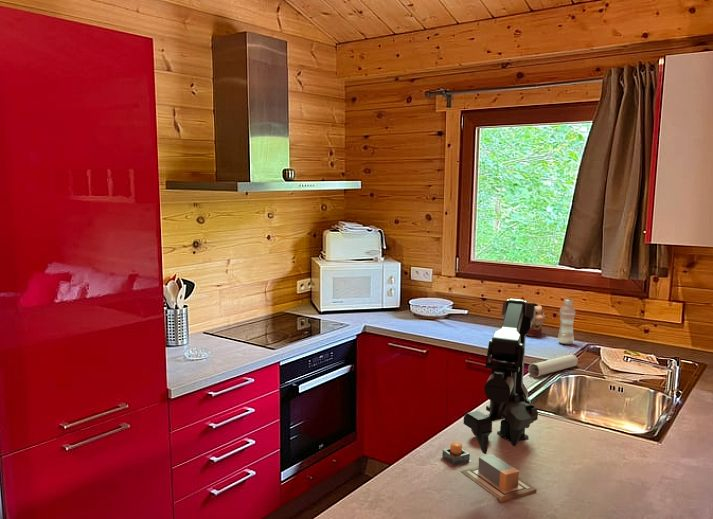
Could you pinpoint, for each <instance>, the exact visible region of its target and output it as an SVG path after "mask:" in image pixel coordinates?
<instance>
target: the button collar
mask: <svg viewBox="0 0 713 519" xmlns="http://www.w3.org/2000/svg"><path fill="white" fill-rule="evenodd" d="M441 454H442V455H439V457H440V458H441V459H443V460H444V461H445V462H447V463H448V464H450V466H452V467H456V466H460V465H464V464H469V463H472V462H473V461H472V460H471V457H470V456H471V455H470V454H471V453H470V452H468V451H467V450H465V449H463V448H462V454H461V455H457V456H454V455H452V454H451V453H450V447H448V448H443V449H442V453H441Z"/></svg>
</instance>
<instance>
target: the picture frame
mask: <svg viewBox="0 0 713 519" xmlns="http://www.w3.org/2000/svg"><path fill="white" fill-rule="evenodd" d="M478 467H479V465H478V466H475V467H471V468H467V469H462V470H460V472H461V473H462V474H463V475H465V476H466V477H468V478H469V479H471V481H473V482H474V483H475V484H477V485H478V486H479V487H480V488H482V489H484V490H486V491H487V492H488V493H489V494H491V495H492V496H494V497H495V498H496V501H498V502H499V503H502V502H506V501H510V500H513V499H517V498H519V497H523V496H526V495H529V494H533V493H536V492H537V488H535V487H534V486H532V485H530V484H529V483H528V482H526V481H524V480H523V479H521V478H520V477H519V482H518V487H517V488H514V489H510V490H507V491H504V490H503V489H501V488H500V487H499V486H497V485H496V484H495V483H493V482H492V481H490V480H489V479H487V478H486V477H485V476H483V475H482V474H480V473H479V472H478Z"/></svg>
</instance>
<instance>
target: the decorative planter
mask: <svg viewBox="0 0 713 519" xmlns="http://www.w3.org/2000/svg"><path fill="white" fill-rule="evenodd" d="M528 303H529V304H531V305H534V306H535V310H536V312H535V321H532V326H531V329H530V330H529V331H528V333H527V334H526V336H530V337H531V336H540V335H542V330H543V328H542V327H543V326H542V325H543V323H544V322H546V318H547V317H546V314H545V313H544V310H543V307H542V305H540V304H538V303H535V302H528Z"/></svg>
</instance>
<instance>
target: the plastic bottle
mask: <svg viewBox="0 0 713 519" xmlns="http://www.w3.org/2000/svg"><path fill="white" fill-rule="evenodd" d="M573 304H574V299H573V298H568V297H567V298H564V299H563V304H562V306H561V307H560V308H559V320H560V321H559V322H560V323H559V324H560V325H559V330H558V331H559V332H558V334H557V340H558V343H560V344H563V345H572V344H573V343H574V340H575V336H574V320H575V316H576V309H575V307H574V305H573Z"/></svg>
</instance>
